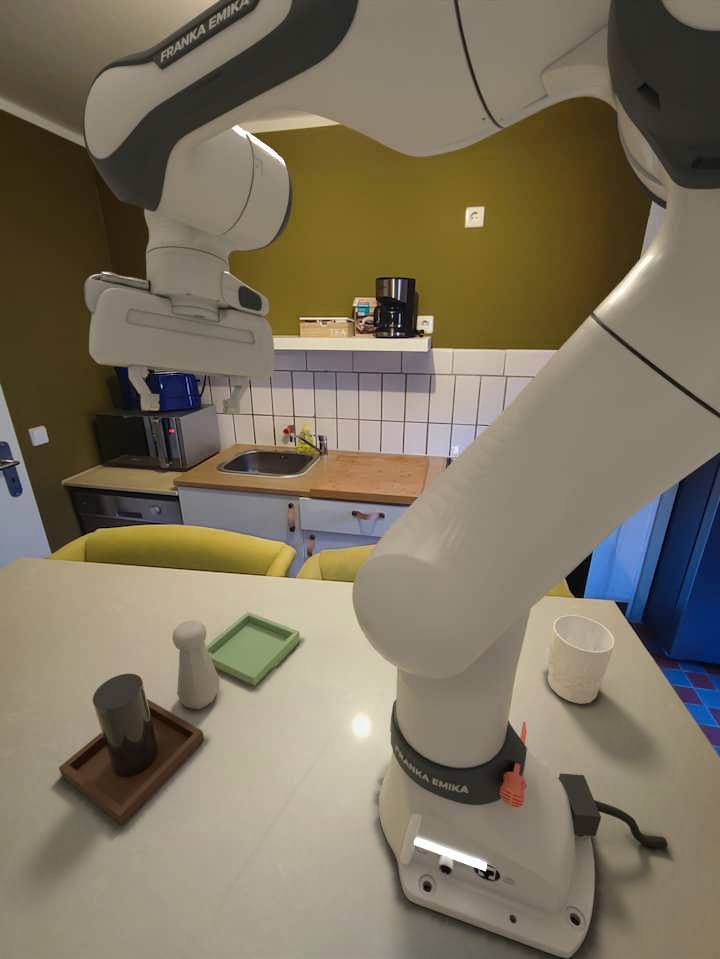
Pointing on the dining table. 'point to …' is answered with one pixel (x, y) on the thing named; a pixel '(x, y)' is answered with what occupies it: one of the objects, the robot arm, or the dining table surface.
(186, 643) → the salt shaker
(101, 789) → the dark tray
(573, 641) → the white cup
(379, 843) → the dining table surface
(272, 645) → the light tray
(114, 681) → the pepper shaker
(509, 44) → the robot arm
